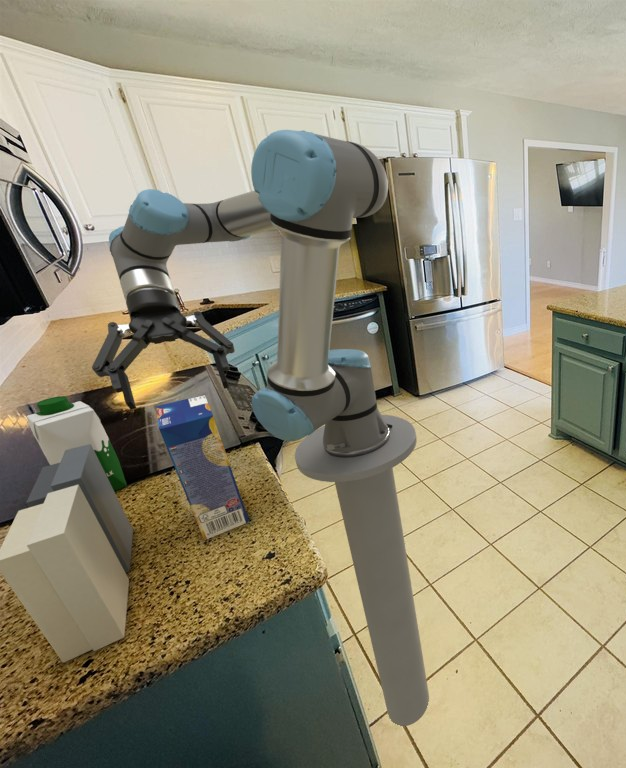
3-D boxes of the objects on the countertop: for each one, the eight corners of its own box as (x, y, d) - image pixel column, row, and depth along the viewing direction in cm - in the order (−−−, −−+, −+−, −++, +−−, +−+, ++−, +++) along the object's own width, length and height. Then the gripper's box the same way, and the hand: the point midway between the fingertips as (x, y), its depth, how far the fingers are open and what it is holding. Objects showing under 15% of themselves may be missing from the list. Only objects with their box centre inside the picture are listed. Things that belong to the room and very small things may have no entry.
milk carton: (118, 472, 90) (79, 389, 82) (134, 485, 85) (94, 399, 77) (63, 494, 83) (14, 406, 75) (77, 509, 78) (27, 417, 70)
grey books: (133, 530, 73) (90, 443, 66) (129, 571, 64) (80, 477, 57) (88, 545, 70) (38, 456, 63) (78, 592, 61) (19, 494, 54)
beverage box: (238, 493, 82) (204, 394, 73) (249, 522, 74) (212, 415, 66) (197, 508, 78) (156, 405, 69) (204, 540, 70) (158, 429, 62)
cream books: (129, 579, 63) (78, 484, 56) (124, 637, 54) (63, 532, 47) (76, 601, 59) (15, 502, 52) (62, 666, 51) (-14, 558, 44)
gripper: (230, 302, 88) (260, 386, 83) (69, 321, 74) (94, 424, 69) (225, 279, 82) (258, 368, 77) (49, 296, 68) (75, 406, 63)
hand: (180, 395), depth 73 cm, fingers open, 13 cm apart
